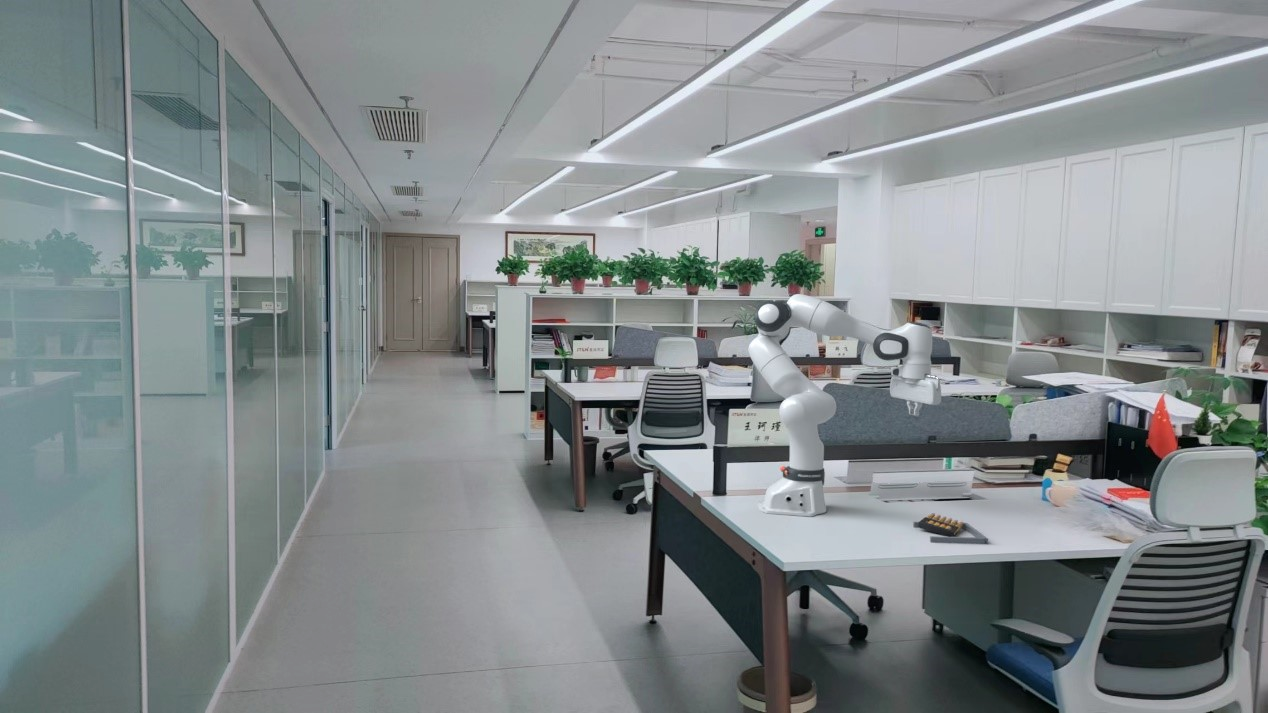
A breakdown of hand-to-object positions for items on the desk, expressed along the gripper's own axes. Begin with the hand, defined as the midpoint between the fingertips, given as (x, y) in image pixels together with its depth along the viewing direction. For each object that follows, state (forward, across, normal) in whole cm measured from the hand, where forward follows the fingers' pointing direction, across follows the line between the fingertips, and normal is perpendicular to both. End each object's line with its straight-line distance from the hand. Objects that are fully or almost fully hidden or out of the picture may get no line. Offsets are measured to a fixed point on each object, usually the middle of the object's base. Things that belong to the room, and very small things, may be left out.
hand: (913, 415), depth 279 cm
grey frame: (+33, -23, +4) cm, 40 cm away
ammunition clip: (+32, -21, +8) cm, 39 cm away
